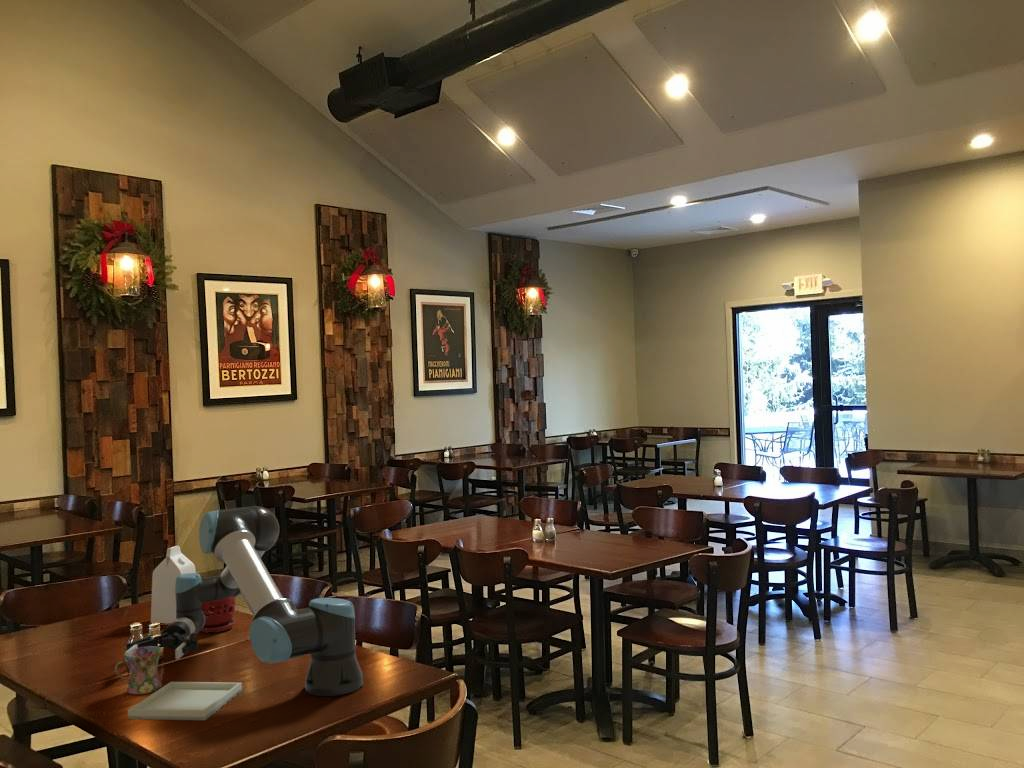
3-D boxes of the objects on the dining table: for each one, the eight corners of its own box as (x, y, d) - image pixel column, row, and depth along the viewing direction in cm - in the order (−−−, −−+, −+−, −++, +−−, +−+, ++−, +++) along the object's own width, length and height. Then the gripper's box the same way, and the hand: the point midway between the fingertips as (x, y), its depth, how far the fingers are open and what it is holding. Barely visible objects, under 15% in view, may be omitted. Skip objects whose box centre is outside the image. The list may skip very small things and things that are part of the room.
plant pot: (231, 621, 293) (230, 587, 293) (239, 630, 281) (238, 594, 281) (191, 628, 286) (190, 593, 286) (198, 637, 275) (197, 600, 275)
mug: (154, 682, 232) (153, 643, 232) (168, 690, 225) (167, 650, 225) (109, 694, 223) (108, 654, 223) (122, 702, 216) (121, 661, 217)
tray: (242, 690, 223) (241, 682, 223) (205, 720, 203) (205, 711, 203) (171, 689, 225) (171, 681, 225) (128, 718, 205) (127, 709, 205)
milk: (168, 616, 303) (166, 544, 303) (198, 616, 301) (196, 544, 302) (150, 625, 291) (148, 550, 291) (182, 625, 289) (180, 550, 290)
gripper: (220, 644, 256) (197, 667, 235) (136, 647, 254) (106, 670, 233) (219, 619, 256) (197, 640, 235) (136, 622, 255) (105, 643, 233)
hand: (151, 655), depth 234 cm, fingers open, 13 cm apart
